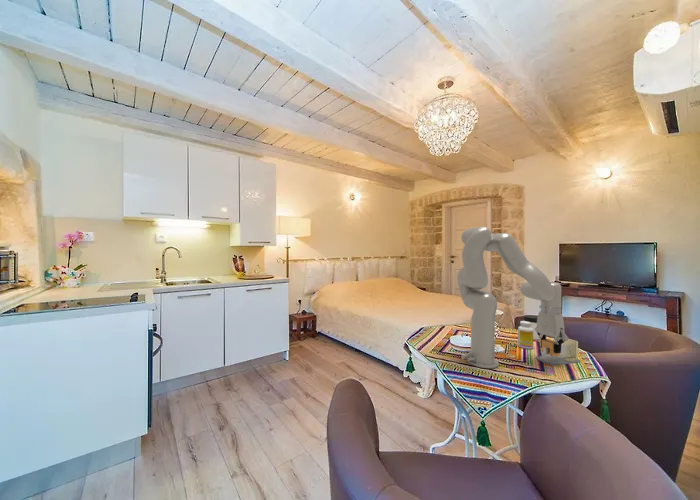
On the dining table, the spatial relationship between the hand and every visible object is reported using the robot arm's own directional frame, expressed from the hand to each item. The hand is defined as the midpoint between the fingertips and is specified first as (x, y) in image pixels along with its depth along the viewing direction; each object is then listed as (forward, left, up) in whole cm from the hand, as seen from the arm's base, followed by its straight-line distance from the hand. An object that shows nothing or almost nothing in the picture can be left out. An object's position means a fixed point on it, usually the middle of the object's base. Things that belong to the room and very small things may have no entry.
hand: (550, 349), depth 127 cm
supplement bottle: (+5, +18, -5) cm, 19 cm away
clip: (0, 0, -2) cm, 2 cm away
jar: (+22, +30, -5) cm, 38 cm away
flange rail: (+4, 0, -5) cm, 7 cm away
